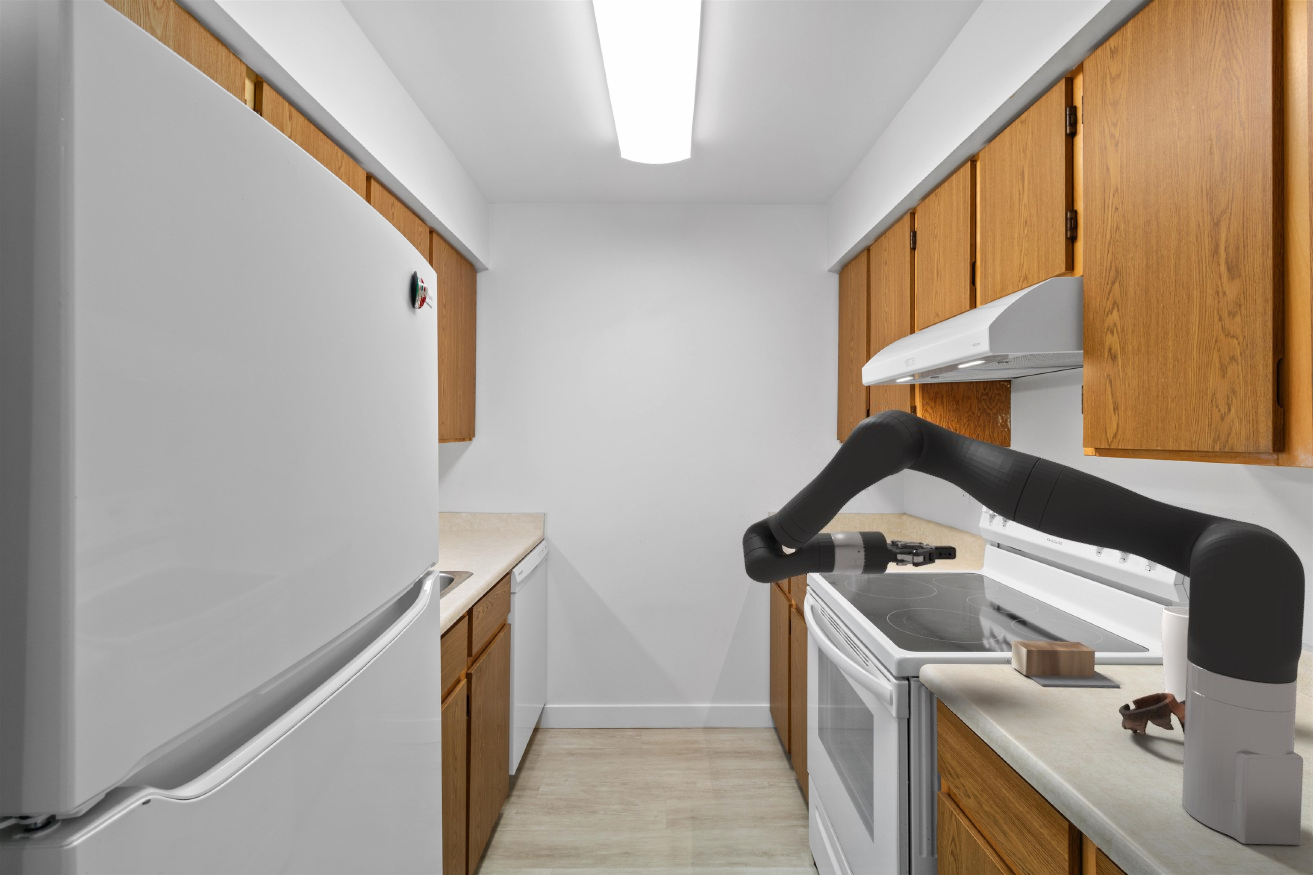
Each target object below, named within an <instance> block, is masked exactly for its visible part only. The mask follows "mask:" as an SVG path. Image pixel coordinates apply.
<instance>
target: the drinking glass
mask: <svg viewBox="0 0 1313 875" xmlns="http://www.w3.org/2000/svg"><path fill="white" fill-rule="evenodd" d="M1160 620H1161V622H1160V640H1161V652H1162V668H1163V680H1164V681H1163V683H1164V693H1171V694H1173V695H1174V696H1175V698H1176V700H1177V701H1178V702H1181V701H1183V700H1185V697H1186V672H1187V636H1188V621H1189V607H1186V606H1185V607H1184V606H1176V605H1175V606H1173V605H1172V606H1171V605H1170V606H1164V607H1163V608H1162V609H1161V619H1160Z"/></svg>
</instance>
